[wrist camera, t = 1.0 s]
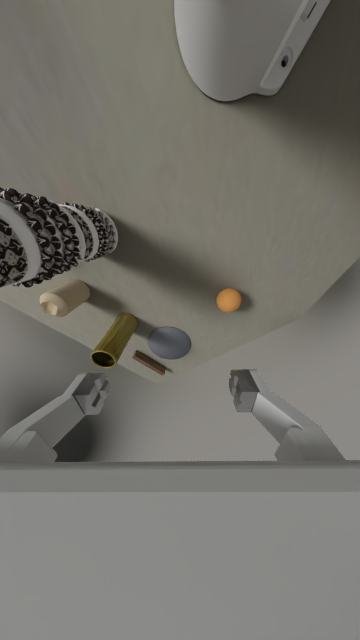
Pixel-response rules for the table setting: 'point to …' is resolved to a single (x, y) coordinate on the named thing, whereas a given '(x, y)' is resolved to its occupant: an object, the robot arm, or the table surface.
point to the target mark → (169, 343)
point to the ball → (229, 300)
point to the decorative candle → (48, 237)
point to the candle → (64, 298)
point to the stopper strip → (149, 362)
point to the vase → (114, 341)
